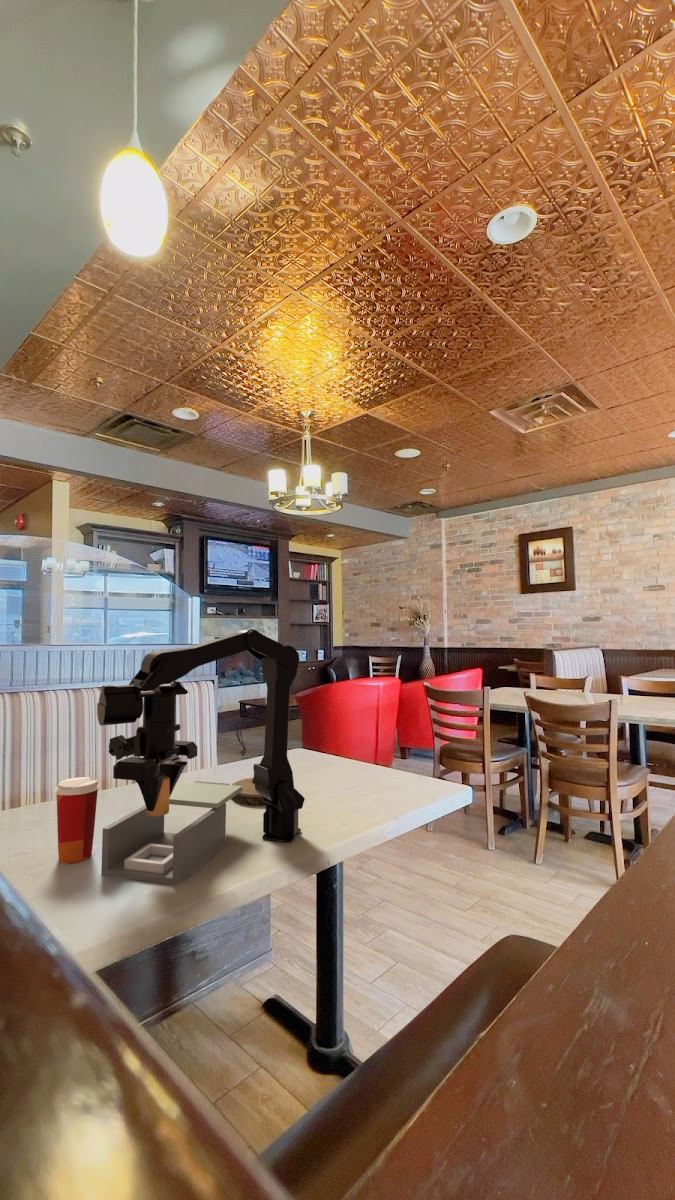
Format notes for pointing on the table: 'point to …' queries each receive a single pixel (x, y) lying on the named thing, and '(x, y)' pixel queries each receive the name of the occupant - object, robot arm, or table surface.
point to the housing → (160, 846)
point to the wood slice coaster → (248, 794)
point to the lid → (203, 794)
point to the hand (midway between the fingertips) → (157, 806)
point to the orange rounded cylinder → (162, 800)
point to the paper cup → (76, 818)
